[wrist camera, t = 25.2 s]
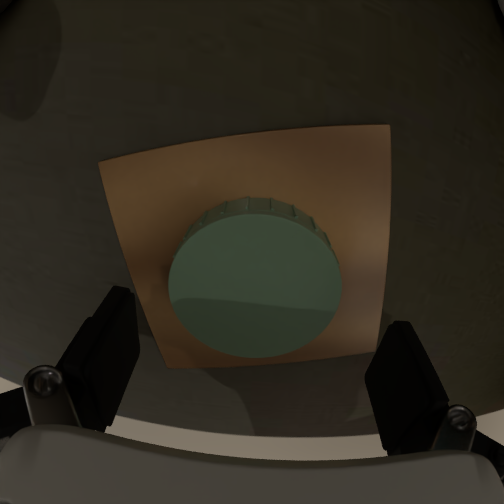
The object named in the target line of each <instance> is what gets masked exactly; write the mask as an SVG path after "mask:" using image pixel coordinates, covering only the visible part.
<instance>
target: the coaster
mask: <svg viewBox="0 0 504 504" xmlns="http://www.w3.org/2000/svg"><path fill="white" fill-rule="evenodd" d="M98 165H99V170H100V174H101V178H102V182H103V186H104V190H105V193H106V197H107V201H108V205H109V208H110V212H111V215H112V219H113V222H114V225H115V229H116V232H117V235H118V239H119V242H120V245H121V248H122V251H123V254H124V257H125V260H126V263H127V266H128V269H129V272H130V275H131V278H132V281H133V284H134V286H135V289H136V292H137V295H138V297H139V300H140V303H141V305H142V308H143V311H144V313H145V316H146V318H147V321H148V323H149V326H150V328H151V331H152V333H153V336H154V338H155V341H156V343H157V345H158V348H159V350H160V352H161V355H162V357H163V359H164V362H165V364H166V366H167V368H219V367H240V366H256V365H269V364H281V363H291V362H301V361H310V360H318V359H326V358H334V357H341V356H348V355H355V354H361V353H368V352H374V351H376V345H377V339H378V333H379V327H380V320H381V313H382V305H383V297H384V289H385V280H386V270H387V259H388V246H389V231H390V210H391V135H390V125H389V124H347V125H326V126H310V127H297V128H286V129H276V130H266V131H257V132H249V133H241V134H234V135H227V136H220V137H213V138H207V139H201V140H195V141H189V142H184V143H178V144H173V145H168V146H163V147H158V148H153V149H148V150H144V151H139V152H135V153H130V154H126V155H122V156H118V157H114V158H110V159H106V160H102V161H100V162H98ZM247 196H249V197H250V198H267V199H270V197H272V198H273V200H277V201H281V202H284V203H287V204H289V205H292V204H294V205H295V207H296V208H297V209H299V210H301V211H303V212H304V213H305V214H306V215H308V216H309V217H311V216H312V217H313V218H314V221H315V223H316V224H317V225H318V226H319V227H320V228H321V230H322V231H323V232H326V234H327V236H328V238H329V241H330V243H331V245H332V248H331V249H333V250H334V252H335V255H336V257H337V259H338V262H339V264H340V266H339V269H340V273H341V279H342V293H341V299H340V303H339V306H338V309H337V311H336V313H335V315H334V317H333V319H332V320H331V322H330V323H329V325H328V326H327V327H326V328H325V329H324V330H323V332H322V333H321V334H319V335H318V336H317V337H316V338H315V339H313V340H312V341H311V342H309V343H308V344H306V345H304V346H302V347H301V348H299V349H296V350H294V351H291V352H289V353H285V354H282V355H278V356H273V357H265V358H247V357H239V356H234V355H230V354H226V353H223V352H220V351H218V350H215V349H213V348H211V347H209V346H207V345H205V344H204V343H202V342H201V341H199V340H198V339H196V338H195V337H194V336H193V335H192V334H191V333H189V331H188V330H187V329H186V328H185V327H184V326H183V325H182V323H181V322H180V320H179V319H178V318H177V316H176V314H175V312H174V310H173V307H172V304H171V301H170V297H169V292H168V279H169V272H170V268H171V265H172V262H173V260H174V258H173V255H174V253H175V251H176V249H177V247H178V245H179V243H180V241H181V242H182V241H183V237H184V236H185V234H186V232H187V230H188V228H189V226H190V225H193V224H194V223H195V222H196V221H197V220H198V219H199V218H200V217H201V216H203V214H204V212H205V211H207V212H208V211H210V210H211V209H213V208H215V207H216V206H219V205H221V204H223V203H224V201H227V202H229V201H233V200H237V199H243V198H247Z"/></svg>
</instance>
